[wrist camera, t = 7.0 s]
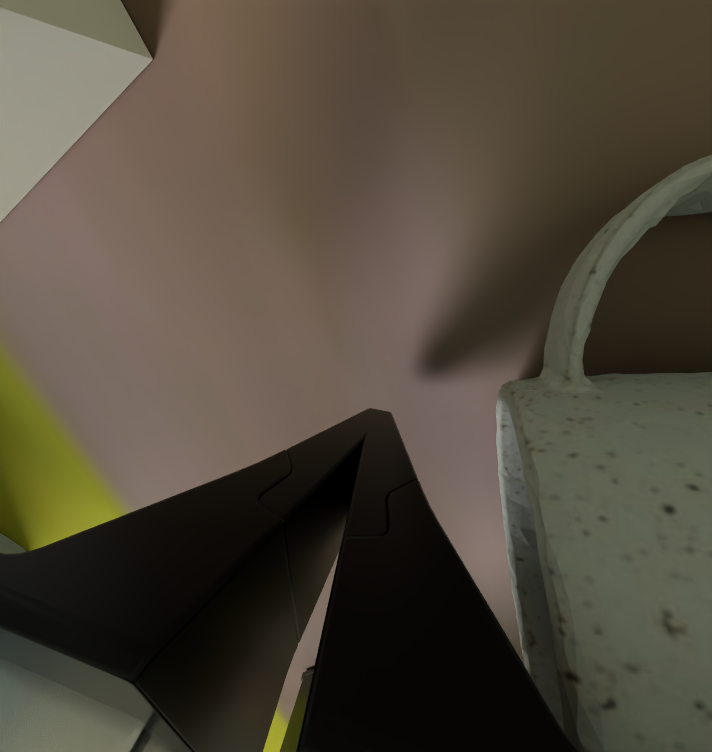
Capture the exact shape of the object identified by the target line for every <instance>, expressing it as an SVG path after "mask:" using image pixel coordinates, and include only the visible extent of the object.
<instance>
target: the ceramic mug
mask: <svg viewBox="0 0 712 752" xmlns="http://www.w3.org/2000/svg"><path fill="white" fill-rule="evenodd" d="M708 212H712V155H710V156H707V157H704V158H701V159H698V160H696V161H694V162H692V163H690V164H687V165H684V166H683V167H681V168H680V169H678V170H677V171H675V172H674V173H672V174H671V175H669V176H668V177H666V178H664V179H663V180H661V181H660V182H659V183H657V184H656V185H654V186H653V187H651V188H650V189H649V190H647V191H646V192H644V193H643V194H641V195H640V196H639V197H638V198H636V199H635V200H634V201H633V202H631V203H630V204H629V205H628V206H627V207H626V208H625V209H623V210H622V211H621V212H619V213H618V214H616V215H615V216H614V217H612V218H611V219H610V221H609V222H608V223H607V224H606V225H605V226H604V227H603V228H602V229H601V230H600V231H599V232H598V233H597V234H596V235H595V236H594V237H593V239H592V240H591V241H590V242H589V244H588V245H587V246H586V247H585V249H584V250H583V251H582V252H581V254H580V255H579V256H578V258H577V259H576V261H575V262H574V264H573V266H572V267H571V269H570V271H569V273H568V275H567V277H566V278H565V280H564V282H563V284H562V286H561V288H560V291H559V294H558V297H557V300H556V303H555V306H554V309H553V312H552V316H551V320H550V325H549V329H548V334H547V338H546V343H545V347H544V367H543V369H542V372H541V374H540V377H536V378H530V379H523V380H516V381H509V382H507V383H505V384H504V385H502V388H501V389H500V391H499V394H498V400H497V405H496V419H497V435H496V443H497V456H498V476H499V481H500V495H501V503H502V513H503V524H504V531H505V539H506V551H507V560H508V565H509V570H510V576H511V585H512V593H513V598H514V603H515V608H516V619H517V624H518V628H519V636H520V643H521V648H522V653H523V658H524V665H525V668H526V669H527V671H528V673H529V674H530V676H531V678H532V679H533V681H534V683H535V684H536V686H537V688H538V689H539V691H540V693H541V694H542V696H543V698H544V699H545V701H546V703H547V704H548V706H549V708H550V709H551V711H552V713H553V714H554V716H555V718H556V720H557V721H558V723H559V725H560V726H561V728H562V729H563V730H564V732H565V733H566V735H567V736H568V738H569V739H570V740H571V742H572V743H573V744H574V745H575V746H576V747H577V748H578V749H579V750H580V751H581V752H712V372H699V373H651V374H618V373H612V374H602V375H596V376H586V375H584V370H583V362H582V359H583V352H584V344H585V341H586V339H587V337H588V335H589V333H590V330H591V324H592V319H593V316H594V314H595V311H596V309H597V306H598V303H599V301H600V298H601V296H602V293H603V290H604V288H605V285H606V282H607V280H608V278H609V277H610V275H611V274H612V272H613V270H614V269H615V267H616V266H617V264H618V262H619V261H620V259H621V258H622V257H623V256H624V255H625V254H626V253H627V252H628V251H629V250H630V249H631V248H632V247H633V246H634V245H635V244H636V243H637V241H638V240H639V239H640V238H641V237H642V236H643V234H644V233H645V232H646V231H647V230H648V229H650V228H652V227H654V226H656V225H657V224H658V223H659V222H660V220H661V219H662V218H663V217H665V216H682V215H690V214H699V213H708Z"/></svg>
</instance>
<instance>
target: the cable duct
mask: <svg viewBox="0 0 712 752" xmlns="http://www.w3.org/2000/svg"><path fill="white" fill-rule="evenodd" d="M152 60H153V59H152V57H151V55H150V53H149V51H148V49H147V48H146V46H145V44H144V42H143V40H142V38H141V37H140V35H139V33H138V31H137V29H136V27H135V26H134V24H133V22H132V20H131V18H130V17H129V15H128V13H127V11H126V9H125V7H124V6H123V4H122V2H121V0H0V222H1V221H2V220H3V219H4V218H5V217H6V216H7V215H8V214H9V213H10V211H11V210H12V209H13V208H14V207H15V206H16V205H17V204H18V203H19V202H20V201H21V200H22V199H23V198H24V197H25V195H26V194H27V193H28V192H29V191H30V190H31V189H32V188H33V187H34V186H35V185H36V184H37V183H38V182H39V181H40V179H41V178H42V177H43V176H44V175H45V174H46V173H47V172H48V171H49V170H50V169H51V168H52V167H53V166H54V165H55V163H56V162H57V161H58V160H59V159H60V158H61V157H62V156H63V155H64V154H65V153H66V152H67V151H68V150H69V149H70V147H71V146H72V145H73V144H74V143H75V142H76V141H77V140H78V139H79V138H80V137H81V136H82V135H83V134H84V133H85V131H86V130H87V129H88V128H89V127H90V126H91V125H92V124H93V123H94V122H95V121H96V120H97V119H98V118H99V117H100V115H101V114H102V113H103V112H104V111H105V110H106V109H107V108H108V107H109V106H110V105H111V104H112V103H113V102H114V101H115V99H116V98H117V97H118V96H119V95H120V94H121V93H122V92H123V91H124V90H125V89H126V88H127V87H128V86H129V85H130V83H131V82H132V81H133V80H134V79H135V78H136V77H137V76H138V75H139V74H140V73H141V72H142V71H143V70H144V69H145V67H146V66H147V65H148V64H149V63H150V62H151V61H152Z"/></svg>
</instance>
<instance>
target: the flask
mask: <svg viewBox="0 0 712 752" xmlns="http://www.w3.org/2000/svg"><path fill="white" fill-rule="evenodd" d="M0 552H1V553H6V554H12V553H22V552H27V551H26V550H25V549H24V548H22V547H21V546H20V545H18V544H17V543H16V542H14V541H12V540H11V539H9V538H8V537H6V536H4V535H3V534H1V533H0Z"/></svg>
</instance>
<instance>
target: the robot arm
mask: <svg viewBox="0 0 712 752" xmlns="http://www.w3.org/2000/svg"><path fill="white" fill-rule="evenodd" d="M339 550H340V551H339ZM338 552H339V556H338V561H337V565H336V570H335V574H334V579H333V584H332V588H331V593H330V598H329V602H328V607H327V612H326V616H325V621H324V625H323V630H322V635H321V639H320V644H319V649H318V653H317V658H316V662H315V667H314V669H311V670H308V671H305V672H303V674H302V677H301V681H302V684H301V687H300V690H299V693H298V696H297V699H296V703H295V706H294V709H293V712H292V715H291V718H290V721H289V724H288V728H287V731H286V734H285V737H284V740H283V743H282V746H281V749H280V752H581V751H580V750H579V749H578V748H577V747H576V746H575V745H574V744H573V743H572V742H571V740H570V739H569V738H568V736H567V735H566V733H565V732H564V730H563V729H562V728H561V726H560V725H559V723H558V721H557V720H556V718H555V716H554V714H553V713H552V711H551V709H550V708H549V706H548V704H547V703H546V701H545V699H544V698H543V696H542V694H541V693H540V691H539V689H538V688H537V686H536V684H535V683H534V681H533V679H532V678H531V676H530V674H529V673H528V671H527V669H526V668H525V666H524V664H523V663H522V661H521V659H520V657H519V656H518V654H517V652H516V651H515V649H514V647H513V646H512V644H511V642H510V641H509V639H508V637H507V636H506V634H505V632H504V631H503V629H502V627H501V626H500V624H499V622H498V621H497V619H496V617H495V616H494V614H493V612H492V611H491V609H490V607H489V606H488V604H487V602H486V600H485V599H484V597H483V595H482V594H481V592H480V590H479V589H478V587H477V585H476V584H475V582H474V580H473V579H472V577H471V575H470V574H469V572H468V570H467V569H466V567H465V565H464V564H463V562H462V560H461V559H460V557H459V555H458V554H457V552H456V550H455V549H454V547H453V545H452V543H451V542H450V540H449V538H448V537H447V535H446V533H445V532H444V530H443V528H442V527H441V525H440V523H439V521H438V520H437V518H436V516H435V514H434V512H433V511H432V509H431V507H430V505H429V503H428V500H427V498H426V496H425V494H424V492H423V489H422V487H421V484H420V482H419V481H418V478H417V475H416V473H415V470H414V468H413V465H412V463H411V460H410V458H409V456H408V453H407V451H406V448H405V446H404V443H403V441H402V438H401V436H400V433H399V431H398V428H397V426H396V423H395V421H394V418H393V416H392V414H391V412H388V411H382V410H377V409H372V408H369V409H367V410H365V411H363V412H361V413H359V414H357V415H355V416H353V417H351V418H349V419H347V420H345V421H343V422H341V423H339V424H337V425H335V426H333V427H331V428H329V429H327V430H325V431H323V432H321V433H319V434H317V435H314V436H312V437H310V438H308V439H306V440H304V441H302V442H300V443H298V444H296V445H294V446H292V447H290V448H288V449H287V450H283V451H281V452H279V453H277V454H275V455H273V456H271V457H269V458H267V459H264V460H262V461H260V462H258V463H256V464H253V465H251V466H249V467H246V468H244V469H241V470H239V471H236V472H234V473H231V474H229V475H226V476H224V477H221V478H219V479H216V480H213V481H211V482H208V483H206V484H203V485H201V486H198V487H195V488H193V489H190V490H188V491H185V492H183V493H180V494H177V495H175V496H172V497H170V498H167V499H165V500H162V501H160V502H157V503H154V504H152V505H149V506H147V507H144V508H142V509H139V510H136V511H134V512H131V513H129V514H126V515H124V516H121V517H118V518H116V519H113V520H111V521H108V522H106V523H103V524H100V525H98V526H95V527H93V528H90V529H88V530H85V531H83V532H80V533H77V534H75V535H72V536H70V537H67V538H65V539H62V540H59V541H57V542H54V543H52V544H49V545H47V546H44V547H41V548H38V549H35V550H32V551H27V552H22V553H12V554H6V553H1V552H0V752H263V749H264V746H265V742H266V739H267V736H268V733H269V730H270V726H271V723H272V720H273V717H274V713H275V710H276V707H277V704H278V700H279V697H280V694H281V691H282V688H283V684H284V681H285V678H286V675H287V672H288V669H289V667H290V664H291V661H292V659H293V656H294V654H295V651H296V649H297V646H298V643H299V642H300V640H301V637H302V635H303V633H304V630H305V628H306V626H307V623H308V621H309V619H310V617H311V614H312V612H313V610H314V607H315V605H316V603H317V600H318V598H319V596H320V593H321V591H322V589H323V587H324V584H325V582H326V580H327V577H328V575H329V573H330V570H331V568H332V566H333V564H334V561H335V559H336V557H337V554H338Z"/></svg>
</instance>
